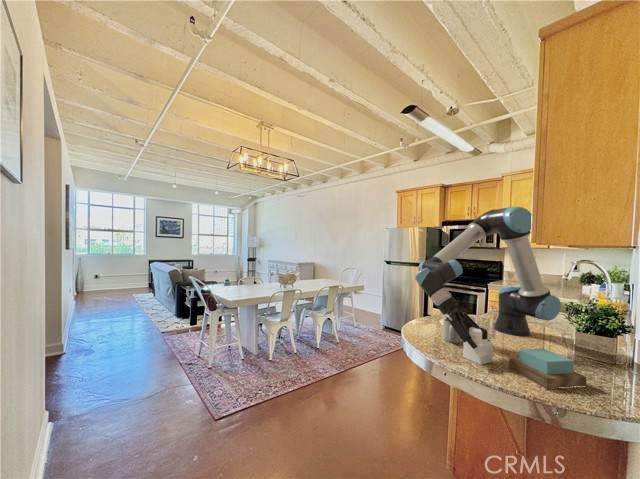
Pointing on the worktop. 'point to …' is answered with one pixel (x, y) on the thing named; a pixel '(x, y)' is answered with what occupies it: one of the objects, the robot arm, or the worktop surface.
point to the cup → (450, 333)
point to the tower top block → (546, 361)
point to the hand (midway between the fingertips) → (487, 352)
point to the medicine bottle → (481, 339)
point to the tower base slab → (547, 376)
